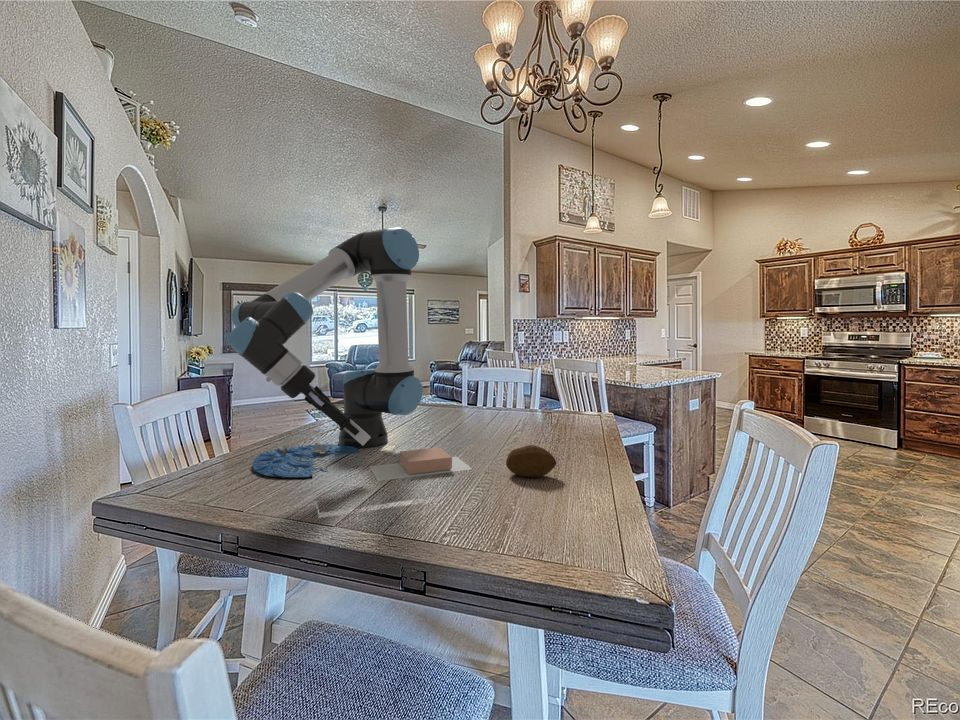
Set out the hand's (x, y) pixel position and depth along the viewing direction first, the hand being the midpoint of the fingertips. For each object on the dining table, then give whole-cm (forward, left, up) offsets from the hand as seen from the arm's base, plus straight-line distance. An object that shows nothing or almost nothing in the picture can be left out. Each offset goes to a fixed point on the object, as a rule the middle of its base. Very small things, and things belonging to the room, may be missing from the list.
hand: (366, 440), depth 115 cm
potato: (+14, +38, -9) cm, 42 cm away
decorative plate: (-19, -11, -10) cm, 24 cm away
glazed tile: (0, +9, -6) cm, 11 cm away
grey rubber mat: (0, +14, -9) cm, 16 cm away
